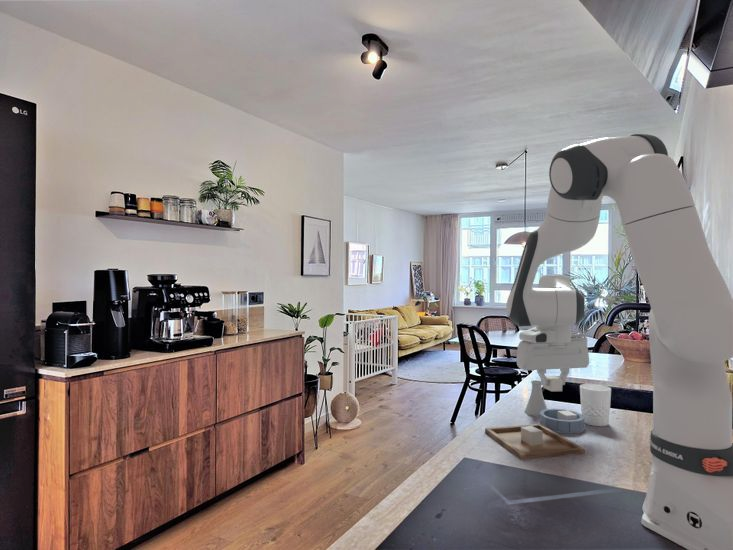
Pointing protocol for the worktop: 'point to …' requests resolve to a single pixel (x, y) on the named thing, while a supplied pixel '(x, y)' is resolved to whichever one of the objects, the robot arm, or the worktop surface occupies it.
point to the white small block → (566, 415)
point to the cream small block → (554, 383)
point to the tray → (523, 450)
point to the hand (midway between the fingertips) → (552, 385)
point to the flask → (535, 400)
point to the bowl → (561, 421)
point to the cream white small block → (532, 435)
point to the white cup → (595, 404)
